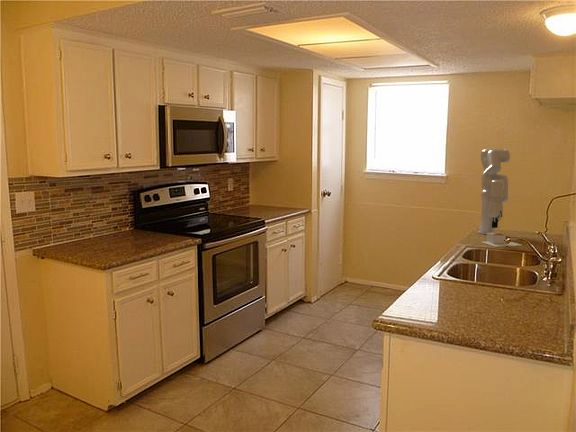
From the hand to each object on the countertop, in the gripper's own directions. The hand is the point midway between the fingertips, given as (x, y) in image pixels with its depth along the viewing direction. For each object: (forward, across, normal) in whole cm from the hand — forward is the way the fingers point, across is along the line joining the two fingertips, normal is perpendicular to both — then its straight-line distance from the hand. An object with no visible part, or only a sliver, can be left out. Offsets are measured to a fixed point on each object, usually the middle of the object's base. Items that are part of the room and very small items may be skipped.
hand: (494, 227), depth 322 cm
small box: (+6, -1, -1) cm, 6 cm away
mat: (+9, +9, 0) cm, 13 cm away
